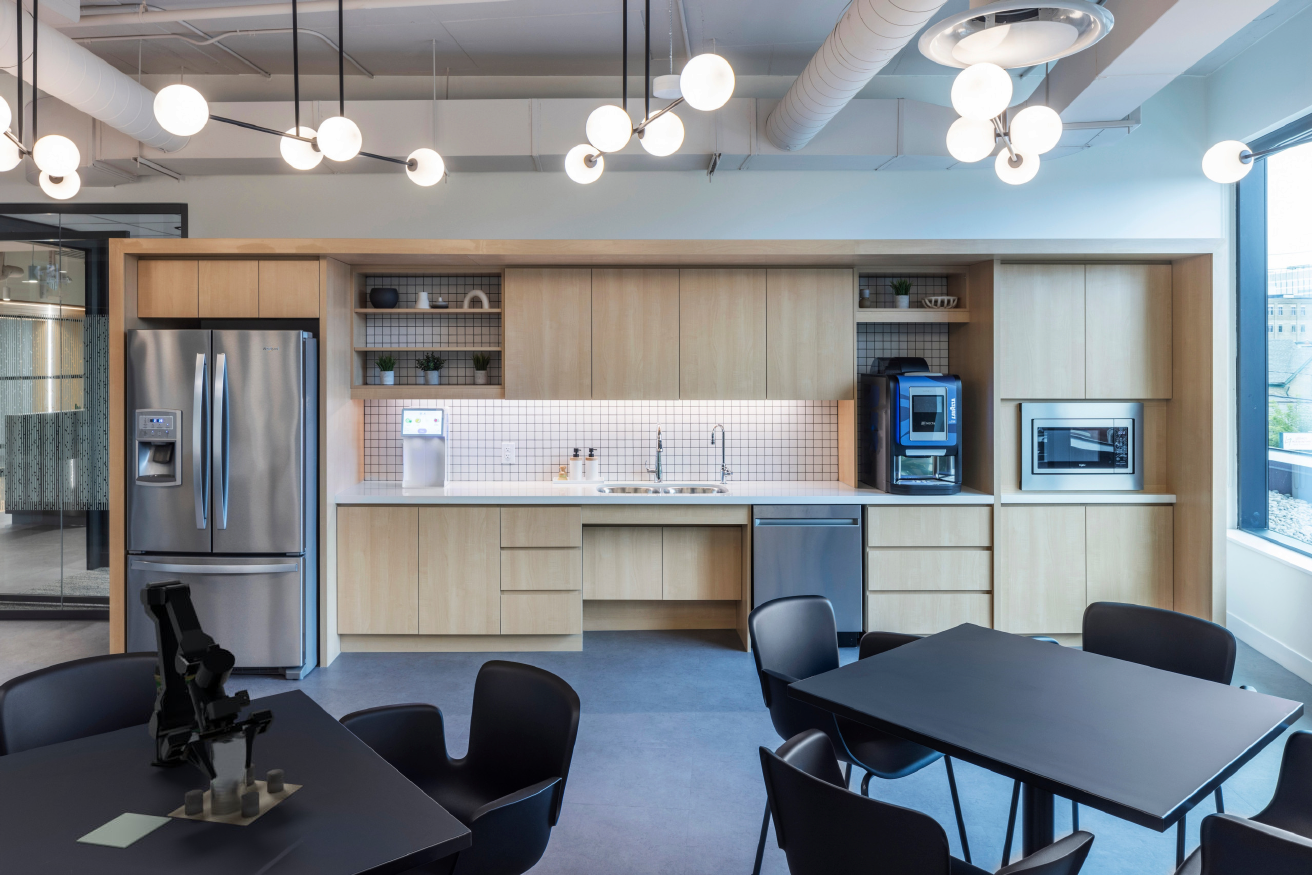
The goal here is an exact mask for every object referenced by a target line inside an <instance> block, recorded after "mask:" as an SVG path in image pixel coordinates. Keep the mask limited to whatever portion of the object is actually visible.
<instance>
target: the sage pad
mask: <svg viewBox="0 0 1312 875" xmlns="http://www.w3.org/2000/svg"><path fill="white" fill-rule="evenodd" d="M171 821H172V817H164V816H156V815H155V816H154V815H147V814H140V813H132V812H131V813H130V812H125V813H123V814H121V815H119V816H118V817H116V818H114V819H112V820H110V821H108V822H107V823H105V824H103V825H102V826H100V827H98V828H96V829H95V830H93V831H91V832H89V833H88V834H85V835H84V836H82V837H80V838H79V839H77V840H76V843H81V844H89V845H95V846H98V845H99V846H103V847H111V848H119V849H126V848H128V847H130V846H131V845H133V844H135V843H136V842H138V841H140V840H141V839H143V838H145V837H146V836H147V835H149V834H151V833H152V832H154V831H156V830H157V829H159V828H161V827H162V826H164V825H165V824H168V822H171Z"/></svg>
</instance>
